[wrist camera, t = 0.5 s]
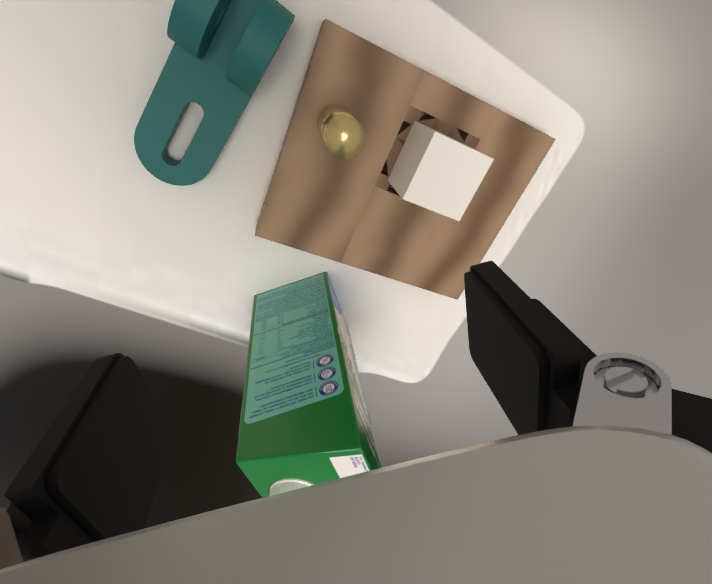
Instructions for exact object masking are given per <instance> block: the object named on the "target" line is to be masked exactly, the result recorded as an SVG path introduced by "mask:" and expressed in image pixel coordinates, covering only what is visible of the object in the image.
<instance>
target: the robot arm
mask: <svg viewBox="0 0 712 584" xmlns="http://www.w3.org/2000/svg"><path fill="white" fill-rule="evenodd" d="M464 283H465V297H466V310H467V323H468V337H469V349H470V353H471V356H472V359H473V361H474V363H475V364H476V366H477V368H478V369H479V371H480V373H481V374H482V376H483V378H484V379H485V381H486V382H487V384H488V386H489V387H490V389H491V390H492V392H493V394H494V396H495V397H496V399H497V400H498V402H499V404H500V405H501V407H502V409H503V410H504V412H505V414H506V415H507V417H508V418H509V420H510V422H511V423H512V425H513V426H514V428H515V430H516V431H517V433H518V435H517V436H512V437H508V438H503V439H499V440H495V441H490V442H486V443H482V444H477V445H473V446H469V447H464V448H460V449H456V450H452V451H447V452H443V453H439V454H435V455H431V456H427V457H423V458H419V459H415V460H412V461H407V462H403V463H399V464H395V465H391V466H387V467H383V468H379V469H375V470H371V471H367V472H363V473H359V474H355V475H351V476H347V477H343V478H339V479H335V480H331V481H327V482H323V483H319V484H315V485H311V486H308V487H304V488H300V489H296V490H292V491H288V492H284V493H280V494H276V495H272V496H268V497H264V498H261V499H257V500H253V501H249V502H245V503H241V504H237V505H233V506H230V507H226V508H222V509H218V510H214V511H210V512H206V513H202V514H199V515H195V516H191V517H187V518H183V519H180V520H176V521H172V522H168V523H164V524H160V525H156V526H153V527H149V528H145V525H146V521H147V518H148V515H149V512H150V509H151V506H152V502H153V500H154V496H155V493H156V490H157V487H158V484H159V481H160V478H161V474H162V471H163V468H164V465H165V462H166V459H167V456H168V452H169V449H170V446H171V443H172V439H173V436H174V427H173V424H172V422H171V420H170V419H169V417H168V416H167V414H166V412H165V411H164V409H163V408H162V406H161V405H160V403H159V401H158V400H157V398H156V397H155V395H154V394H153V392H152V390H151V389H150V387H149V385H148V384H147V382H146V381H145V379H144V378H143V376H142V375H141V373H140V371H139V370H138V368H137V366H136V365H135V363H134V362H133V360H132V359H131V358H130V357H125V356H124V355H122V354H120V353H116V354H113V355H108V356H105V357H100V358H97V359H95V360H94V361H93V362H92V364H91V366H90V367H89V369H88V370H87V371H86V373H85V374H84V376H83V377H82V379H81V380H80V382H79V383H78V385H77V386H76V388H75V389H74V391H73V392H72V394H71V395H70V397H69V398H68V400H67V401H66V403H65V404H64V406H63V407H62V409H61V410H60V412H59V413H58V415H57V416H56V418H55V419H54V421H53V422H52V424H51V425H50V427H49V428H48V430H47V431H46V433H45V434H44V436H43V437H42V438H41V440H40V441H39V443H38V444H37V446H36V448H35V449H34V451H33V452H32V453H31V455H30V456H29V458H28V459H27V461H26V462H25V464H24V465H23V467H22V469H21V470H20V471H19V473H18V474H17V476H16V477H15V479H14V480H13V482H12V483H11V485H10V486H9V488H8V489H7V491H6V492H5V494H4V496H6V497H7V498H8V499H9V500H10V501H11V502H12V503H11V504H10V506H9V508H8V509H7V511H6V510H5V509H0V584H712V399H710V398H706V397H702V396H698V395H694V394H690V393H686V392H682V391H678V390H674V389H672V386H671V382H670V379H669V377H668V375H667V374H666V373H665V372H664V371H663V369H661V368H660V367H658V366H657V365H656V364H654V363H653V362H650V361H649V360H646V359H644V358H642V357H638V356H634V355H631V354H624V353H608V354H603V355H599V356H596V355H595V354H594V353H593V352H592V351H591V350H590V349H589V348H588V347H587V346H586V345H585V344H584V343H583V342H582V341H581V340H580V339H579V338H578V337H576V335H574V334H573V333H572V332H571V331H570V330H569V329H568V328H567V327H566V326H565V325H564V324H563V323H562V322H561V321H560V320H559V319H558V318H557V317H556V316H555V315H554V314H552V313H551V312H550V311H549V310H548V309H547V308H546V307H545V306H544V305H543V304H542V303H541V302H540V301H538V300H537V299H530V297H529V296H527V295H526V294H525V292H524V291H522V290H521V289H520V288H519V287H518V286H517V285H516V284H515V283H514V282H513V281H512V280H511V279H510V278H509V277H508V276H507V275H506V274H505V273H504V272H503V271H502V270H501V269H500V268H499V267H498V266H497V265H496V264H495V263H494V262H493V261H488V262H484V263H480V264H476V265H472V266H471V267H470V272H466V273H465V274H464ZM144 528H145V529H144Z"/></svg>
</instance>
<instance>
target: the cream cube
mask: <svg viewBox="0 0 712 584" xmlns="http://www.w3.org/2000/svg"><path fill="white" fill-rule="evenodd" d="M493 160H494V159H493V158H491V157H489V156H487V155H485V154H483V153H481V152H479V151H477V150H475V149H473V148H471V147H469V146H468V145H465V144H463V143H461V142H459V141H457V140H455V139H453V138H451V137H448V136H446V135H444V134H442V133H440V132H438V131H436V130H434V129H431V128H429V127H427V126H425V125H423V124H421V123H419V122H417V121H414V123H413V125H412V128H411V130H410V132H409V134H408V136H407V139H406V141H405V143H404V145H403V147H402V150H401V152H400V154H399V156H398V158H397V161H396V163H395V165H394V167H393V170H392V172H391V174H390V176H389V178H388V182H389V183H390V184H391V185H392V187H393V188H394V189H395V190H396V191H397V193H398V194H399V195H400V196H401V198H402V199H404V200H406V201H409V202H411V203H414V204H416V205H419V206H421V207H424V208H427V209H429V210H432V211H434V212H437V213H439V214H442V215H444V216H447V217H449V218H452V219H455V220H457V221H460V219H461V217H462V216H463V214H464V212H465V210H466V209H467V207H468V205H469V203H470V201H471V200H472V198H473V196H474V194H475V192H476V191H477V189H478V187H479V185H480V183H481V182H482V180H483V178H484V176H485V174H486V173H487V171H488V169H489V167H490V166H491V164H492V162H493Z"/></svg>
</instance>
